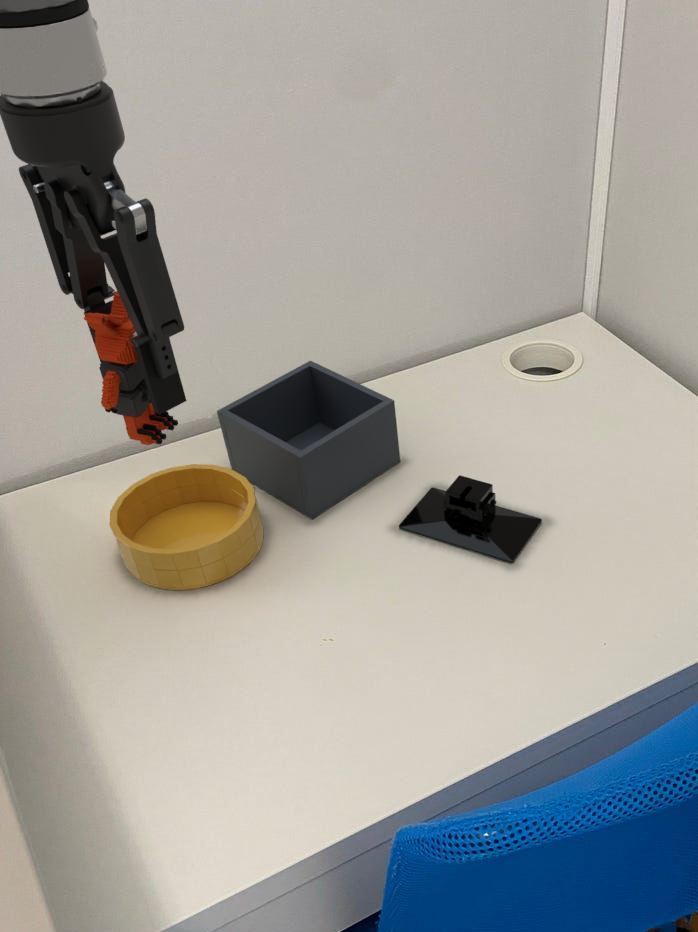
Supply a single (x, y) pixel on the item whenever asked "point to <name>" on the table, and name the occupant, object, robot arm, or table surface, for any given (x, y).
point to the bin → (311, 437)
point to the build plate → (471, 520)
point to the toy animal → (126, 376)
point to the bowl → (187, 526)
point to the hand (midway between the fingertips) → (146, 391)
